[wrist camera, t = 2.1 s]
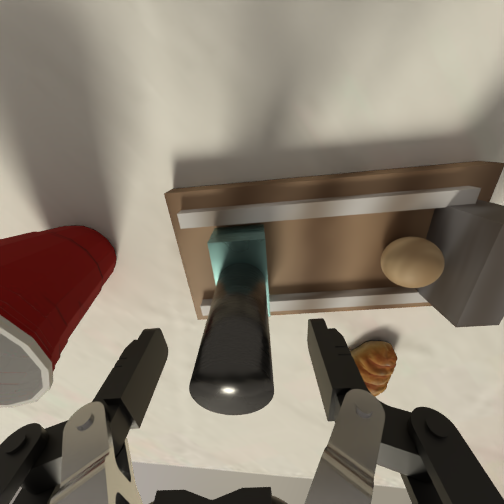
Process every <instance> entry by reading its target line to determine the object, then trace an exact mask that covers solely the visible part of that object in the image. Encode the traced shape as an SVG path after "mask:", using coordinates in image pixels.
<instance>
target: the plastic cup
mask: <svg viewBox="0 0 504 504" xmlns="http://www.w3.org/2000/svg"><path fill="white" fill-rule="evenodd" d="M116 259H117V258H116V254H115V251H114V248H113V246H112V245H111V244H110V242H109V241H108V240H107V238H105V237H104V236H103V235H101V234H100V233H98V232H97V231H96V230H93V229H90V228H88V227H85V226H62V227H58V228H54V229H49V230H45V231H41V232H31V233H26V234H22V235H18V236H13V237H9V238H5V239H0V407H16V406H20V405H24V404H28V403H32V402H36V401H38V400H39V399H40V398H41V397H42V396H43V395H44V394H45V393H46V392H47V391H48V390H49V389H50V388H51V385H52V383H53V371H54V369H55V365H56V363H57V361H58V360H59V358H60V354H61V352H62V350H63V349H64V347H65V346H66V344H67V342H68V338H69V337H70V335H71V334H72V332H73V331H74V329H75V328H76V327H77V325H78V324H79V322H80V321H81V319H82V318H83V316H84V315H85V313H86V312H87V310H88V309H89V307H90V306H91V304H92V303H93V301H94V300H95V298H96V297H97V295H98V294H99V292H100V291H101V288H102V286H103V285H104V283H105V282H106V281H107V279H108V278H109V276H110V275H111V274H112V272H113V270H114V268H115V265H116Z"/></svg>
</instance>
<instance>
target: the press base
mask: <svg viewBox="0 0 504 504" xmlns="http://www.w3.org/2000/svg"><path fill="white" fill-rule="evenodd" d="M503 167H504V163H497V162H484V161H475V162H464V163H453V164H442V165H430V166H419V167H408V168H397V169H386V170H375V171H364V172H353V173H342V174H331V175H320V176H309V177H298V178H287V179H276V180H265V181H254V182H243V183H232V184H221V185H210V186H199V187H188V188H177V189H172V190H170V191H168V192H166V193H164V195H165V199H166V203H167V206H168V210H169V214H170V218H171V221H172V225H173V229H174V233H175V236H176V240H177V244H178V247H179V251H180V255H181V259H182V262H183V266H184V270H185V273H186V277H187V281H188V285H189V288H190V292H191V296H192V300H193V303H194V307H195V311H196V314H197V318H198V320H201V319H207V318H208V315H209V311H210V307H211V303H212V300H213V296H214V292H215V289H216V284H215V279H214V274H213V269H212V264H211V259H210V254H209V249H208V244H207V243H208V241H209V239H210V237H211V234H212V232H213V230H214V228H220V227H233V226H245V225H257V224H264V232H265V242H266V257H267V272H268V287H269V302H270V315H285V314H301V313H318V312H335V311H352V310H369V309H385V308H402V307H419V306H433V307H434V308H435V309H436V310H438V311H439V312H440V313H441V314H442V315H443V316H444V317H445V318H446V319H447V320H448V321H450V322H451V323H452V324H453V325H454V326H455V327H469V326H487V325H499V324H500V322H501V320H502V318H503V317H504V206H502V205H498V204H494V203H490V202H489V201H490V199H491V196H492V194H493V192H494V189H495V187H496V184H497V182H498V179H499V177H500V174H501V172H502V169H503ZM403 237H420V238H424V239H427V240H429V241H431V242H432V243H434V244H435V245H436V246H437V247H438V248H439V249H440V250H441V252H442V254H443V256H444V262H445V265H444V270H443V272H442V274H441V275H440V277H439V278H438V279H437V280H436V281H435V282H433V283H431V284H429V285H427V286H424V287H420V288H407V287H403V286H400V285H397V284H395V283H394V282H392V281H391V280H389V279H388V278H387V277H386V275H385V274H384V272H383V270H382V268H381V256H382V253H383V251H384V249H385V248H386V247H387V246H388V245H389V244H390V243H391V242H393V241H395V240H397V239H400V238H403Z"/></svg>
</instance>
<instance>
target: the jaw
mask: <svg viewBox="0 0 504 504" xmlns="http://www.w3.org/2000/svg"><path fill="white" fill-rule="evenodd" d="M207 244H208V249H209V254H210V259H211V264H212V269H213V274H214V279H215V284H216V289H215V292H214V296H213V300H212V303H211V307H210V311H209V315H208V318H207V322H206V326H205V329H204V333H203V337H202V341H201V344H200V348H199V352H198V355H197V359H196V363H195V367H194V370H193V374H192V378H191V381H190V386H189V391H190V394H191V396H192V398H193V399H194V400H195V401H196V402H197V403H198V404H199V405H200V406H202V407H203V408H205V409H207V410H210V411H212V412H216V413H220V414H225V415H243V414H248V413H252V412H255V411H258V410H260V409H262V408H264V407H265V406H266V405H267V404H268V403H269V402H270V401H271V400H272V398H273V395H274V384H273V371H272V359H271V346H270V333H269V320H268V316H270V302H269V287H268V272H267V257H266V242H265V232H264V224H257V225H245V226H233V227H220V228H214V230H213V232H212V234H211V237H210V239H209V241H208V243H207Z"/></svg>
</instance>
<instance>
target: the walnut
mask: <svg viewBox="0 0 504 504" xmlns="http://www.w3.org/2000/svg"><path fill="white" fill-rule="evenodd" d="M444 265H445V262H444V256H443V254H442V252H441V250H440V249H439V248H438V247H437V246H436V245H435V244H434V243H432V242H431V241H429V240H427V239H424V238H420V237H403V238H400V239H397V240H395V241H393V242H391V243H390V244H389V245H388V246H387V247H386V248H385V249H384V251H383V253H382V256H381V268H382V270H383V272H384V274H385V275H386V277H387V278H388V279H389V280H391V281H392V282H394V283H395V284H397V285H400V286H403V287H407V288H420V287H424V286H427V285H429V284H431V283H433V282H435V281H436V280H437V279H438V278H439V277H440V275H441V274H442V272H443V270H444Z"/></svg>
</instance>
